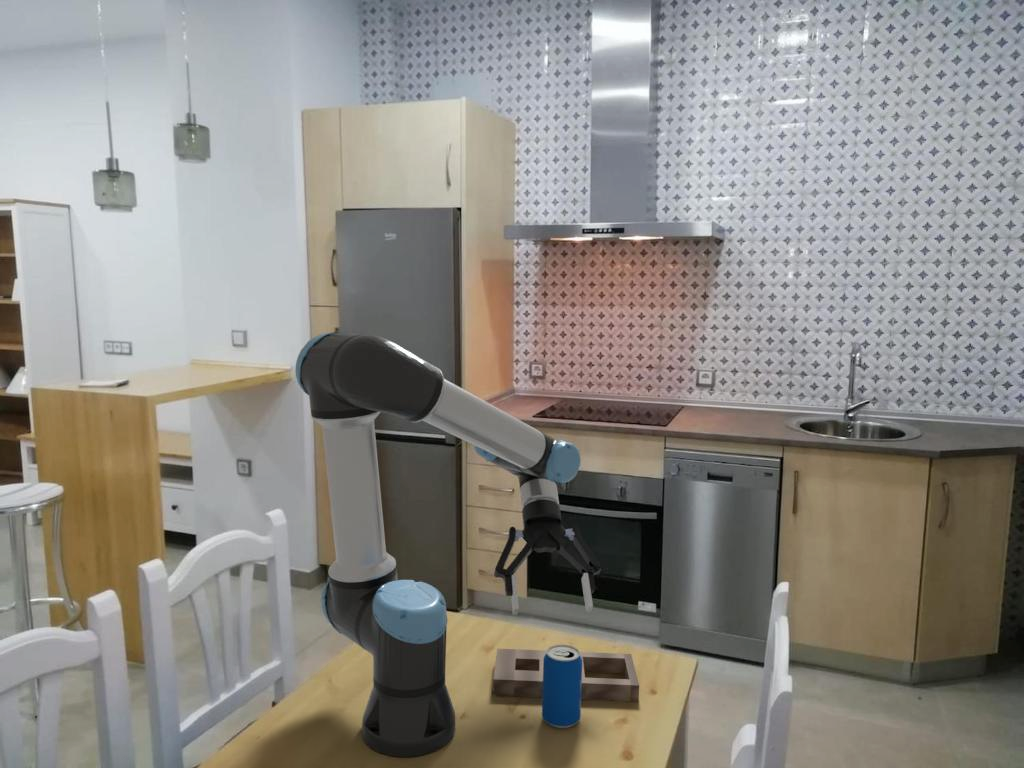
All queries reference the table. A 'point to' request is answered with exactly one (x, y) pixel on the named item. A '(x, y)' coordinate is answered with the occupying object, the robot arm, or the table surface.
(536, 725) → the table surface
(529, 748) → the table surface
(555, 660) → the beverage can
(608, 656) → the hole board
